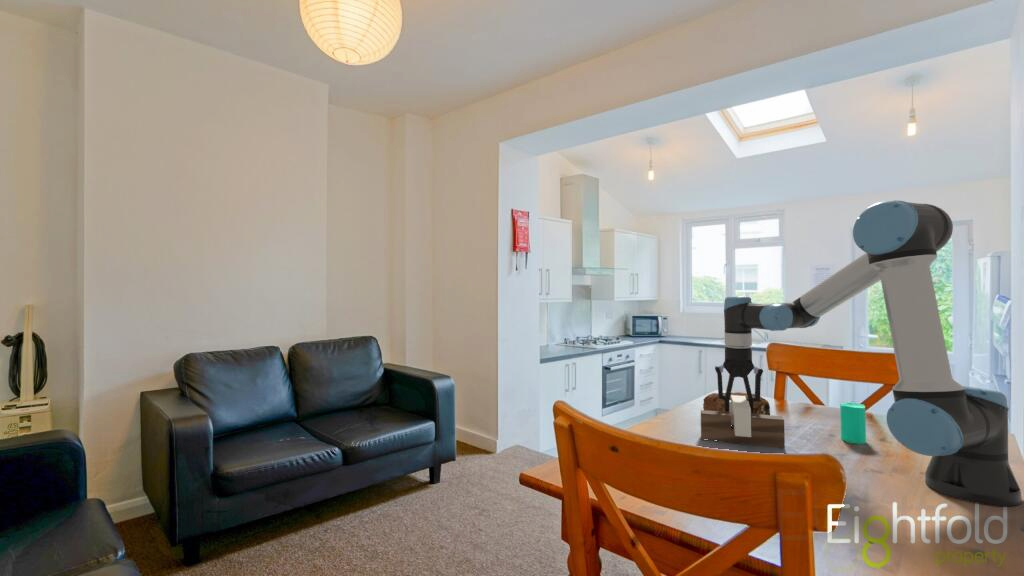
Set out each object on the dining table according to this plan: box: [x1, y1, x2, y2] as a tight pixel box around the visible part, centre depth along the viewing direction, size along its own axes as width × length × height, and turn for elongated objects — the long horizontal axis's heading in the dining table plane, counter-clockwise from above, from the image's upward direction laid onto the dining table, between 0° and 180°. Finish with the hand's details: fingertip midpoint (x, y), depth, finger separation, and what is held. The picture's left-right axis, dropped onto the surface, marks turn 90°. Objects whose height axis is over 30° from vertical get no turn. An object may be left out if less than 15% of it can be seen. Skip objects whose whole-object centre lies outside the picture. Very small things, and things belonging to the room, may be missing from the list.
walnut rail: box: [700, 409, 786, 449], centre depth 139 cm, size 4×22×8 cm, turn 69°
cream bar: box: [731, 395, 751, 437], centre depth 139 cm, size 16×4×8 cm, turn 159°
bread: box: [702, 391, 771, 425], centre depth 160 cm, size 19×11×10 cm, turn 92°
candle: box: [839, 399, 867, 445], centre depth 139 cm, size 6×6×12 cm
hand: (739, 422), depth 144 cm, fingers closed on cream bar, 4 cm apart
